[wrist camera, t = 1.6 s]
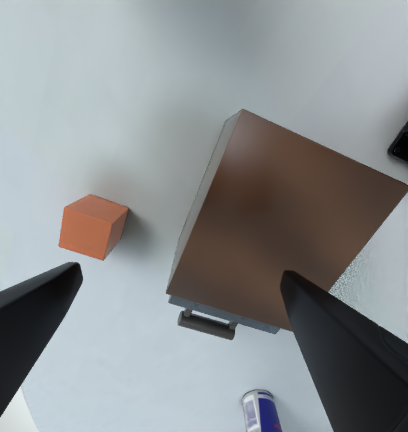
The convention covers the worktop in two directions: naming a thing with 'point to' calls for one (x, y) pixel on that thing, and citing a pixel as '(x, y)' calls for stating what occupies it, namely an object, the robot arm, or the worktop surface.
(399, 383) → the robot arm
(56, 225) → the worktop surface
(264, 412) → the energy drink
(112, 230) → the block
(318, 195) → the cabinet
